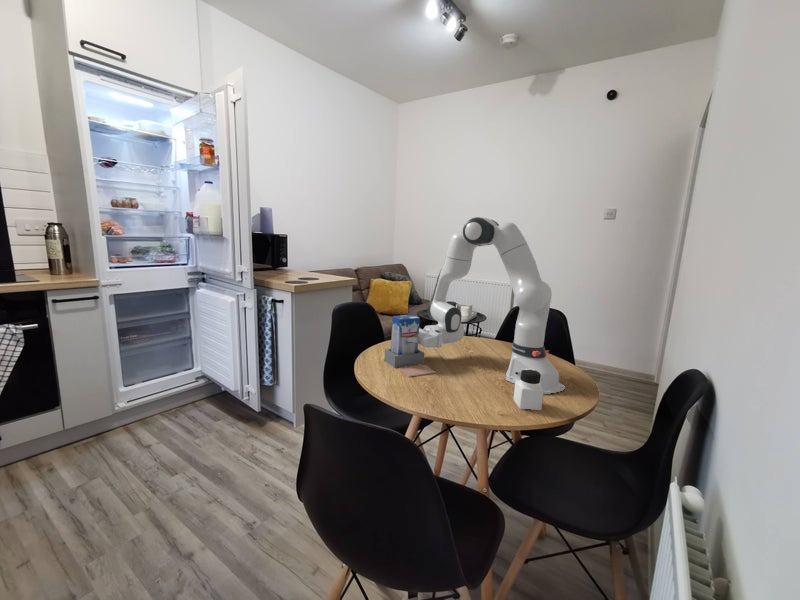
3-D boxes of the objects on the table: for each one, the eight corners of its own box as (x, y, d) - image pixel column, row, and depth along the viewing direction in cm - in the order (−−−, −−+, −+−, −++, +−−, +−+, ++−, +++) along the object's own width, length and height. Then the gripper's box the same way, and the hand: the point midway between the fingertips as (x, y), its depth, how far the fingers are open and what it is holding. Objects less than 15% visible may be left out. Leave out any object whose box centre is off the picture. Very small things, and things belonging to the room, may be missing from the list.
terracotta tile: (435, 373, 139) (435, 371, 139) (408, 377, 133) (409, 375, 133) (423, 365, 147) (423, 364, 147) (398, 369, 141) (398, 367, 141)
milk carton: (409, 358, 155) (411, 314, 152) (417, 362, 150) (419, 317, 147) (390, 361, 150) (392, 316, 146) (397, 366, 145) (400, 319, 141)
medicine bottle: (541, 410, 112) (546, 375, 110) (519, 409, 112) (523, 374, 110) (533, 400, 119) (538, 367, 117) (512, 399, 119) (516, 366, 117)
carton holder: (423, 364, 149) (424, 353, 148) (394, 368, 142) (395, 356, 141) (412, 356, 157) (412, 346, 156) (384, 360, 151) (384, 349, 150)
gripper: (419, 322, 162) (393, 324, 156) (444, 334, 144) (415, 336, 138) (418, 335, 163) (392, 338, 157) (443, 348, 146) (414, 352, 139)
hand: (403, 337), depth 147 cm, fingers open, 4 cm apart
